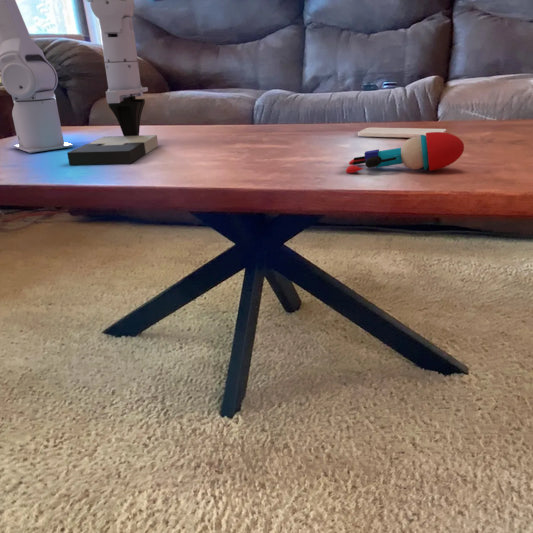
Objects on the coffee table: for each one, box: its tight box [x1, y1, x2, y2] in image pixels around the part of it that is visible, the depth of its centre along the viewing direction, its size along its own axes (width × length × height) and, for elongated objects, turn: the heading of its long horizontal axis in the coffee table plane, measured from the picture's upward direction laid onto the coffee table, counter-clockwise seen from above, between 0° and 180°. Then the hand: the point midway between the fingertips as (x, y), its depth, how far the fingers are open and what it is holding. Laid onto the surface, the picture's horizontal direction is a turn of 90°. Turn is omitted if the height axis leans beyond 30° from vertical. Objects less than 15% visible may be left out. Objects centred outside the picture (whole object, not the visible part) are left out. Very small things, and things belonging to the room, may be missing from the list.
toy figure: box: [345, 132, 465, 174], centre depth 68 cm, size 8×5×15 cm
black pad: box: [66, 142, 146, 166], centre depth 83 cm, size 8×10×2 cm
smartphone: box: [357, 127, 447, 138], centre depth 95 cm, size 7×1×15 cm
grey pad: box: [87, 134, 159, 155], centre depth 90 cm, size 10×10×2 cm
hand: (132, 140), depth 95 cm, fingers closed
